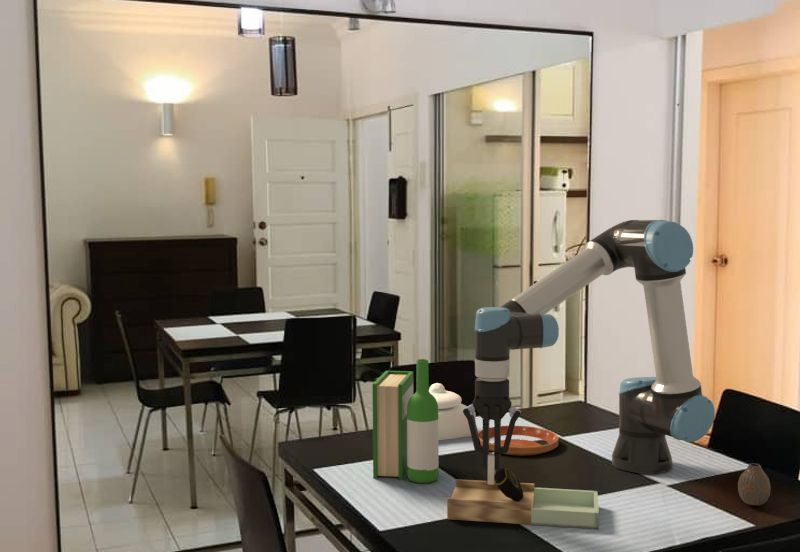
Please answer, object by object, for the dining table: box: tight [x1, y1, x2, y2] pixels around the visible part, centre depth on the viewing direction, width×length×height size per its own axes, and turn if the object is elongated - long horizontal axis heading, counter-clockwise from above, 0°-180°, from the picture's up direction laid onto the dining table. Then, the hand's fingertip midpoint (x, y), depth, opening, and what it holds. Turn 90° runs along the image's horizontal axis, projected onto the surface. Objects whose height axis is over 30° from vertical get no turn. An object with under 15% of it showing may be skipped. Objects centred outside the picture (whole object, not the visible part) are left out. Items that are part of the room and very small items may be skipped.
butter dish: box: [429, 382, 477, 441], centre depth 261 cm, size 18×18×16 cm
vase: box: [737, 462, 771, 506], centre depth 201 cm, size 7×7×9 cm
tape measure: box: [494, 467, 524, 501], centre depth 194 cm, size 7×7×4 cm
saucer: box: [478, 425, 559, 456], centre depth 248 cm, size 23×23×4 cm
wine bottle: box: [406, 358, 440, 484], centre depth 218 cm, size 8×8×30 cm
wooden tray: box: [446, 478, 535, 526], centre depth 196 cm, size 18×14×4 cm
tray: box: [531, 487, 600, 530], centre depth 193 cm, size 14×15×4 cm
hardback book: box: [372, 370, 414, 481], centre depth 227 cm, size 18×7×24 cm, turn 170°
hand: (491, 482), depth 196 cm, fingers closed
